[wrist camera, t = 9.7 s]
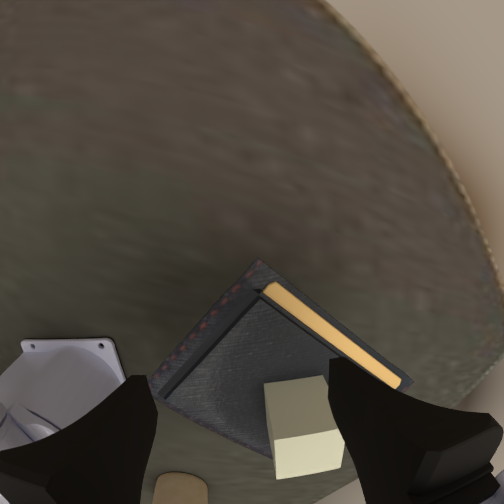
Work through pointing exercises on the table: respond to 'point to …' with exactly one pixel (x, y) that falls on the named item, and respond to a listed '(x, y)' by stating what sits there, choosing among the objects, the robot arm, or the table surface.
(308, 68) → the table surface
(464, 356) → the table surface
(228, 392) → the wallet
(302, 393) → the block
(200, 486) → the candle
